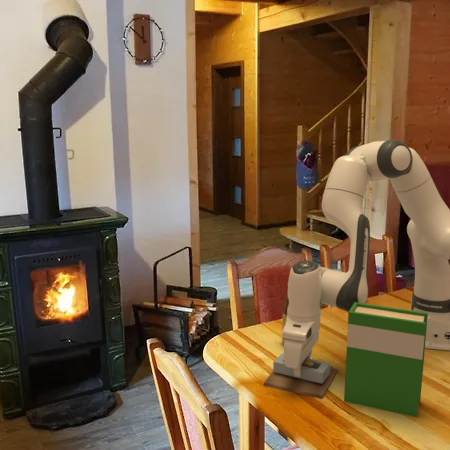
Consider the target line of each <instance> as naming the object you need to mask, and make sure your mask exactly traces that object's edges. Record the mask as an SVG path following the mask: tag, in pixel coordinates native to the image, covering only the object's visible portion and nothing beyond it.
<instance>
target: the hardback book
mask: <svg viewBox="0 0 450 450" xmlns="http://www.w3.org/2000/svg"><path fill="white" fill-rule="evenodd" d="M347 315H348V316H347V332H346V333H347V335H346V337H347V338H346V339H347V340H346V357H345V371H344V372H345V375H344V376H345V377H344V393H343V394H344V395H343V401H344V402H345V403H350V404H354V405H359V406H363V407H367V408H371V409H378V410H382V411H386V412H392V413H396V414H401V415H405V416H409V417H414V418H418V416H419V405H420V404H421V397H422V385H423V374H424V362H425V352H426V351H425V350H426V348H425V341H426V329H427V318H428V313H426V312H419V311H412V310H411V309H405V308H396V307H391V306H382V305H376V304H369V303H365V304H364V303H357V302H354V304H353V306H352V307H351V309H350V311H349V312H348V314H347Z"/></svg>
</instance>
